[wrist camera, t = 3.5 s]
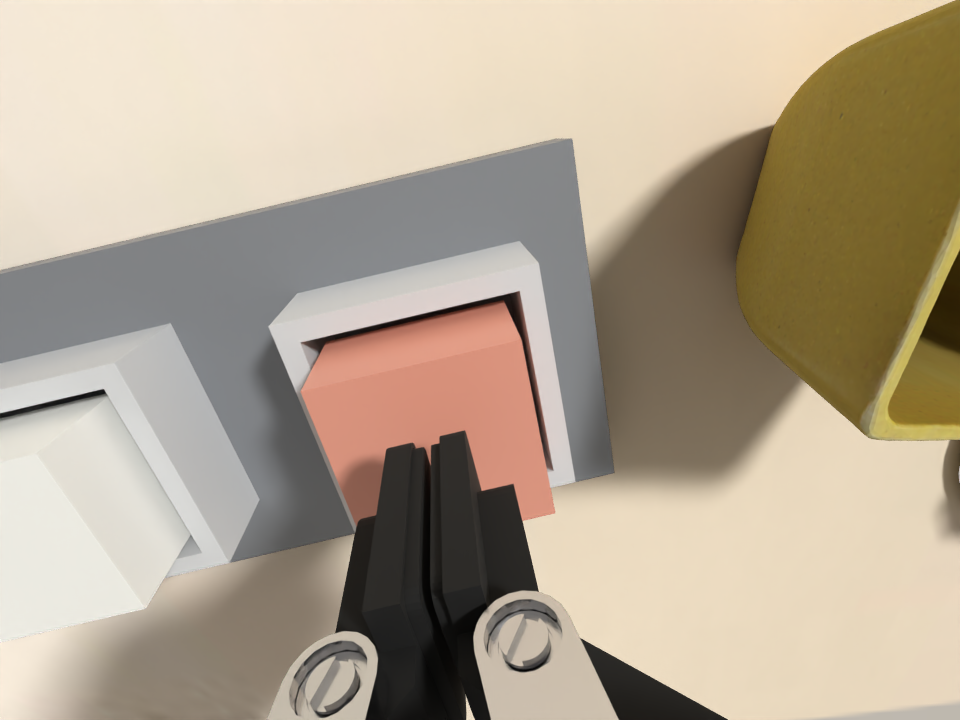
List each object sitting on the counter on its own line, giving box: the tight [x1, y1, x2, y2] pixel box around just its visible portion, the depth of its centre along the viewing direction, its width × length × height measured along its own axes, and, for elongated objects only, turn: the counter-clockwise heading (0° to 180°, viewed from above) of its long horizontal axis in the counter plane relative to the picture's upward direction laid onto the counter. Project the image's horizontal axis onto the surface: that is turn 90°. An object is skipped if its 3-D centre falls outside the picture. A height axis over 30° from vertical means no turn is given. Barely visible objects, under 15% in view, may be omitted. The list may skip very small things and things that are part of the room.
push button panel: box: [0, 139, 614, 578], centre depth 16 cm, size 12×22×5 cm, turn 102°
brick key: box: [300, 300, 555, 527], centre depth 13 cm, size 5×5×3 cm
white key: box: [0, 393, 191, 643], centre depth 13 cm, size 5×5×3 cm
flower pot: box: [736, 0, 960, 441], centre depth 14 cm, size 9×9×9 cm
